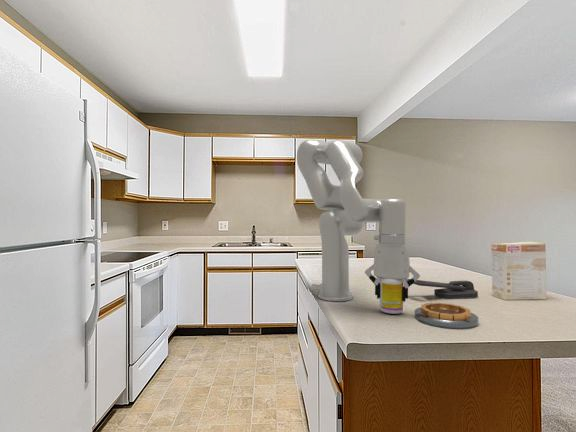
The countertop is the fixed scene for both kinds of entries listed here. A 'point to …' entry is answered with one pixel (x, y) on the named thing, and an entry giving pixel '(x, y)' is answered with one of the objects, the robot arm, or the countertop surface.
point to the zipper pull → (451, 289)
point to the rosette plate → (446, 316)
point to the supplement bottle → (391, 295)
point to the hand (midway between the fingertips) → (391, 298)
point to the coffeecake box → (519, 270)
